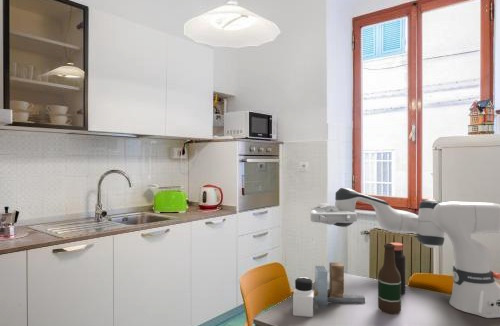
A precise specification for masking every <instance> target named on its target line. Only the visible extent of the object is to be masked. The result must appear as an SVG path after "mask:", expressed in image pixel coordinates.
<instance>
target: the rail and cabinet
mask: <svg viewBox="0 0 500 326" xmlns="http://www.w3.org/2000/svg"><path fill="white" fill-rule="evenodd" d="M314 291H316V295H314V301H315V302H316V305H317V307H326V308H327V307H328V304H330V303H333V304H365V303H366V297H365V295H363V294H343V298H338V297H329V295H327V291H328V270H327V268H326V267H325V266H324V265H314Z"/></svg>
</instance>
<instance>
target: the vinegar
mask: <svg viewBox="0 0 500 326" xmlns="http://www.w3.org/2000/svg"><path fill="white" fill-rule="evenodd" d="M389 244H393V245H395V248H394V253H395V265H396V268H397V269H398V271H399V273H400V276H401V296H402V295H404V294H406V256H405V254H404V253H403V251H404V244H403V243H401V242H389Z"/></svg>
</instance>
